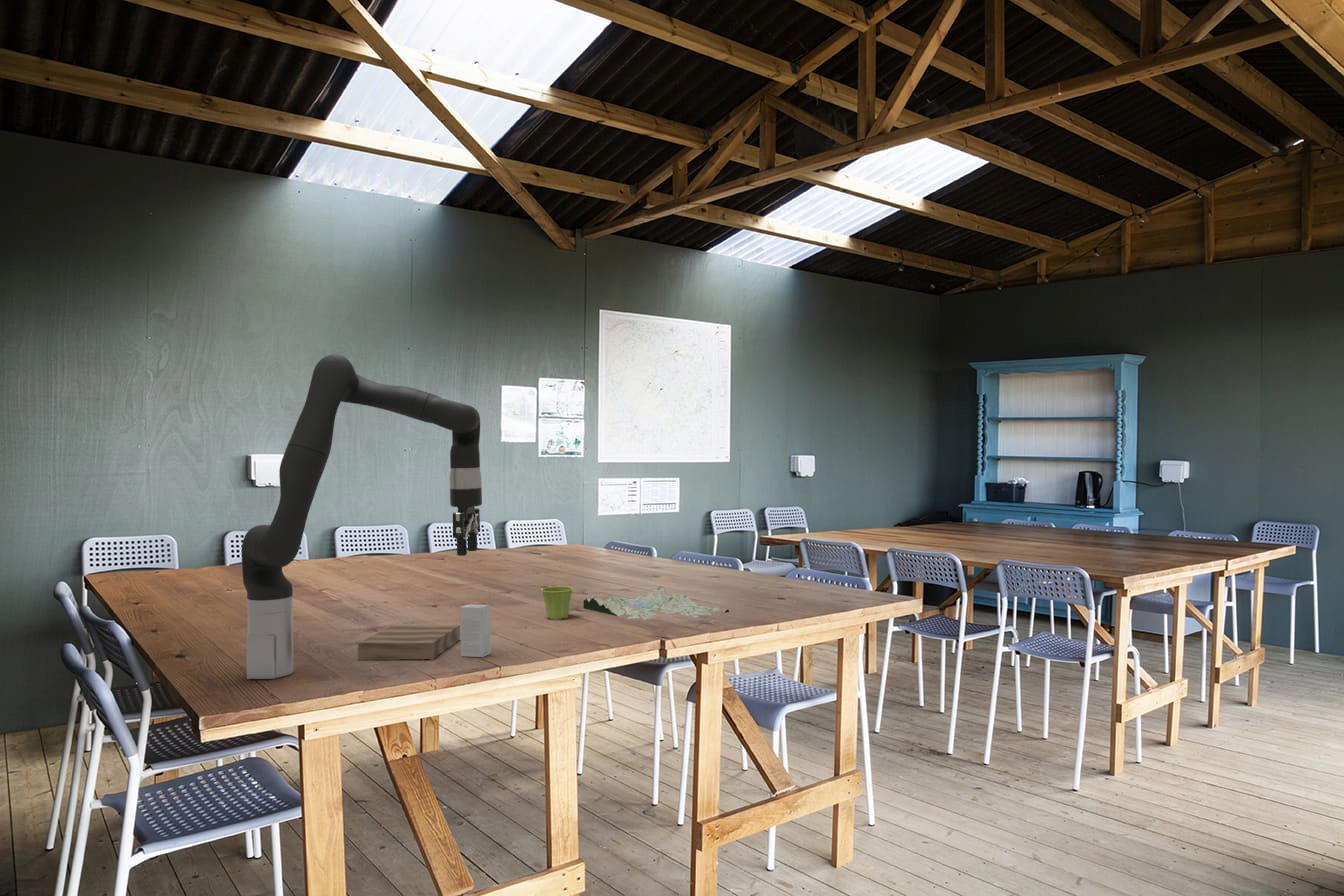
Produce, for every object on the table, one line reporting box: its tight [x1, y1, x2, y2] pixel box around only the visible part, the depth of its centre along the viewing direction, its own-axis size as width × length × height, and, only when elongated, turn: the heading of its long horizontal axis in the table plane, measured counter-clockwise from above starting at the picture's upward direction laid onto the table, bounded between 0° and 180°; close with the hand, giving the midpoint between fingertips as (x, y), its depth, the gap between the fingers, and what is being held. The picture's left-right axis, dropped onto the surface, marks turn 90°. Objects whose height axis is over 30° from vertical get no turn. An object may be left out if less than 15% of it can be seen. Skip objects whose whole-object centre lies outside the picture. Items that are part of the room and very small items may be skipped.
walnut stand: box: [357, 624, 461, 661], centre depth 220 cm, size 22×18×4 cm
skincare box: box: [459, 603, 492, 658], centre depth 213 cm, size 6×4×12 cm
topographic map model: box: [582, 585, 730, 621], centre depth 272 cm, size 36×29×5 cm
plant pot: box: [541, 585, 574, 621], centre depth 260 cm, size 9×9×9 cm
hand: (467, 553), depth 214 cm, fingers open, 8 cm apart
